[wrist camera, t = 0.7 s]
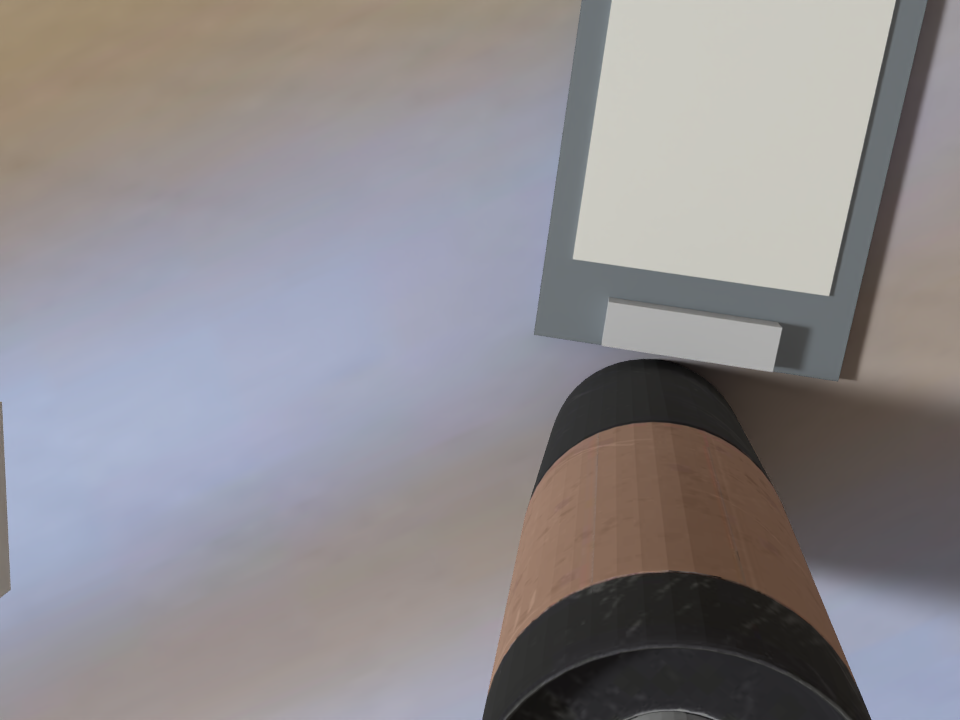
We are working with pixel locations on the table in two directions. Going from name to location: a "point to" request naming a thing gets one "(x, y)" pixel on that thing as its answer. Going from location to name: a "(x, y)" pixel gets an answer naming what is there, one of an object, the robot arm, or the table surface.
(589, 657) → the travel mug
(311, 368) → the table surface
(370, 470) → the table surface
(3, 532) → the robot arm
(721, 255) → the clipboard
